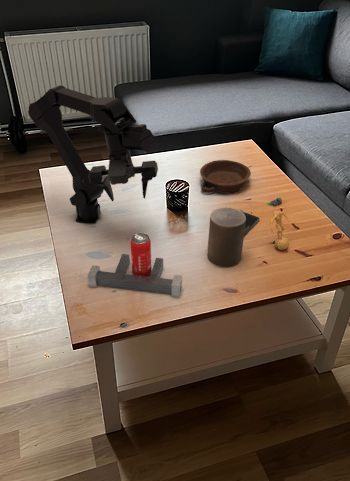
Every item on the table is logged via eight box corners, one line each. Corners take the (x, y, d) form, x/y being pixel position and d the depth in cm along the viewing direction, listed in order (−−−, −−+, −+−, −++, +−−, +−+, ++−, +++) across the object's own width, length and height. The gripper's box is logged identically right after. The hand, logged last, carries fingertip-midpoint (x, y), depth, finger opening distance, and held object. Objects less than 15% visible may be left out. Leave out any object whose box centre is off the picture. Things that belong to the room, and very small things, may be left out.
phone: (214, 232, 144) (239, 210, 154) (214, 235, 145) (238, 212, 155) (237, 241, 141) (261, 218, 151) (237, 244, 142) (260, 221, 151)
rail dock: (89, 286, 126) (87, 275, 124) (101, 259, 135) (100, 248, 133) (179, 297, 123) (179, 286, 121) (185, 269, 132) (186, 258, 130)
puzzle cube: (275, 201, 161) (276, 195, 159) (281, 205, 159) (282, 199, 157) (265, 204, 159) (266, 198, 158) (271, 208, 157) (272, 202, 156)
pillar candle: (231, 271, 131) (237, 227, 122) (200, 259, 135) (203, 215, 126) (247, 253, 138) (252, 209, 129) (216, 242, 142) (220, 199, 133)
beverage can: (143, 282, 128) (141, 246, 120) (128, 274, 130) (126, 239, 123) (155, 272, 131) (154, 237, 124) (140, 264, 133) (139, 229, 126)
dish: (262, 180, 171) (264, 168, 168) (225, 205, 158) (226, 192, 155) (223, 164, 181) (224, 152, 178) (185, 187, 167) (185, 174, 164)
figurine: (278, 257, 136) (284, 223, 129) (260, 248, 139) (265, 214, 132) (294, 245, 141) (301, 211, 134) (277, 236, 144) (282, 202, 137)
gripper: (77, 162, 123) (91, 215, 131) (149, 155, 121) (158, 210, 129) (87, 146, 133) (99, 197, 141) (153, 140, 130) (161, 191, 139)
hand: (128, 199), depth 137 cm, fingers open, 9 cm apart
